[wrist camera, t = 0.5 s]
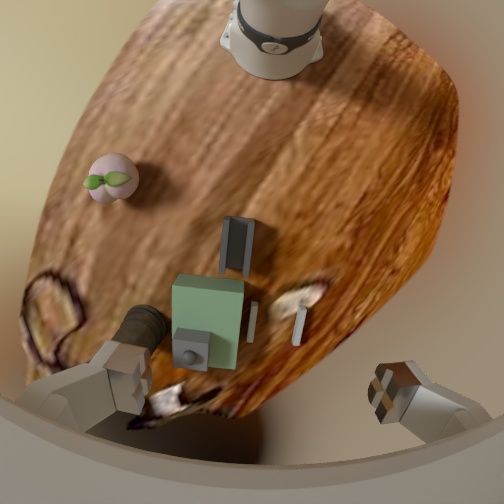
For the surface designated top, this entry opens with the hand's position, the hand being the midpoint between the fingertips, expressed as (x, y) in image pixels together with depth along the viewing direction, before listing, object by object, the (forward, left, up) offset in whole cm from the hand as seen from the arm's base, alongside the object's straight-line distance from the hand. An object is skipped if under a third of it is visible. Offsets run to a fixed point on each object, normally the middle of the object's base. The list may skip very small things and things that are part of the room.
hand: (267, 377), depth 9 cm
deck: (+20, 0, -42) cm, 47 cm away
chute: (+5, -2, -42) cm, 43 cm away
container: (+24, -19, -42) cm, 52 cm away
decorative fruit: (-5, -24, -42) cm, 49 cm away
